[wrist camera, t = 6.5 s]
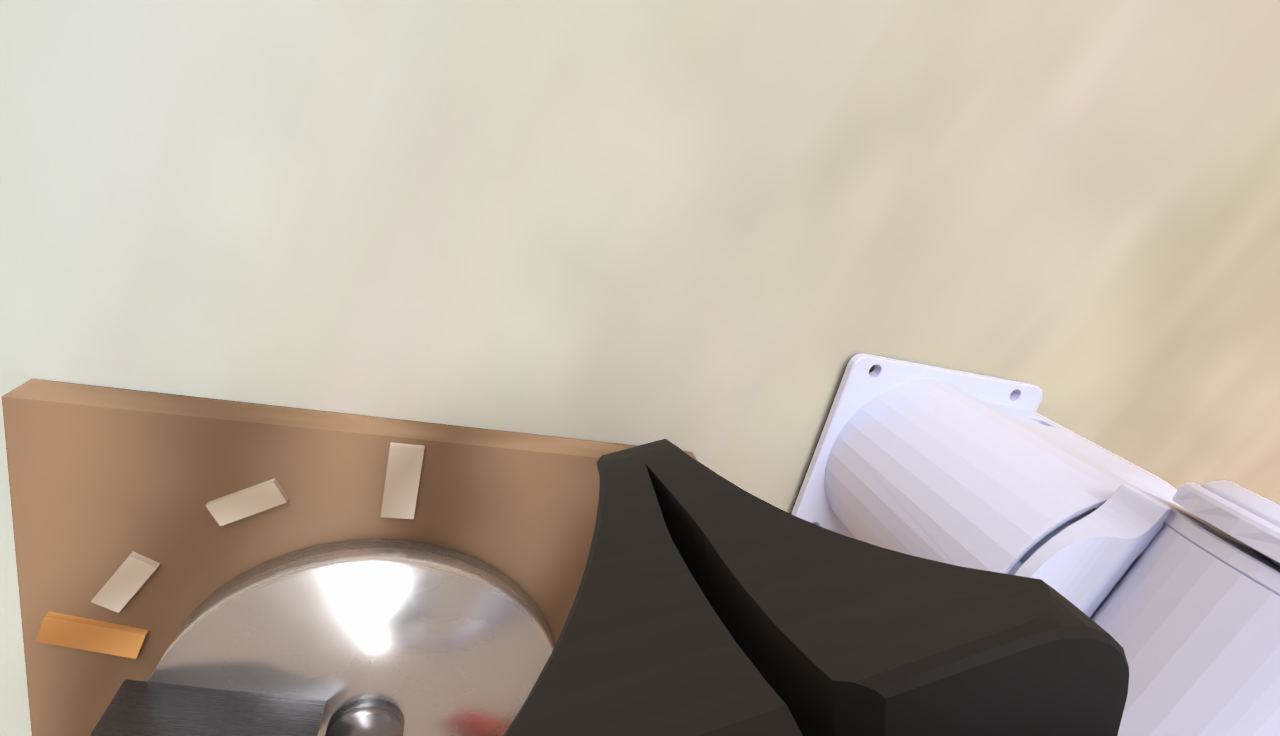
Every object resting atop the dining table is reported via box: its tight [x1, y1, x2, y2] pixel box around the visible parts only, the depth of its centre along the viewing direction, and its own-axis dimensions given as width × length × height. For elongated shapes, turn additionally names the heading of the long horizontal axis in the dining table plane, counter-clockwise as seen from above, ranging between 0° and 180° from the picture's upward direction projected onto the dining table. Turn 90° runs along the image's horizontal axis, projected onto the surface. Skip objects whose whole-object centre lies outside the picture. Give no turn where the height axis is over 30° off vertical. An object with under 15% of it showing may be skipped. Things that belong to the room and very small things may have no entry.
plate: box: [2, 379, 697, 736], centre depth 23 cm, size 20×20×1 cm
